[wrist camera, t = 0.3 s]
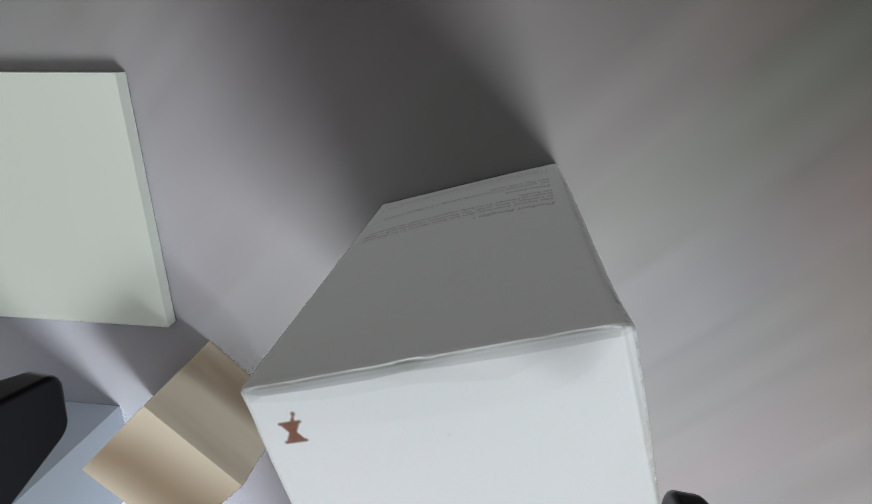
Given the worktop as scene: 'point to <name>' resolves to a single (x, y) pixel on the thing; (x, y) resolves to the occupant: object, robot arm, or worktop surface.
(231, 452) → the beige cube
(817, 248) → the worktop surface
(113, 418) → the blue gray block
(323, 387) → the supplement box
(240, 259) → the worktop surface
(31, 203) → the sage tile
